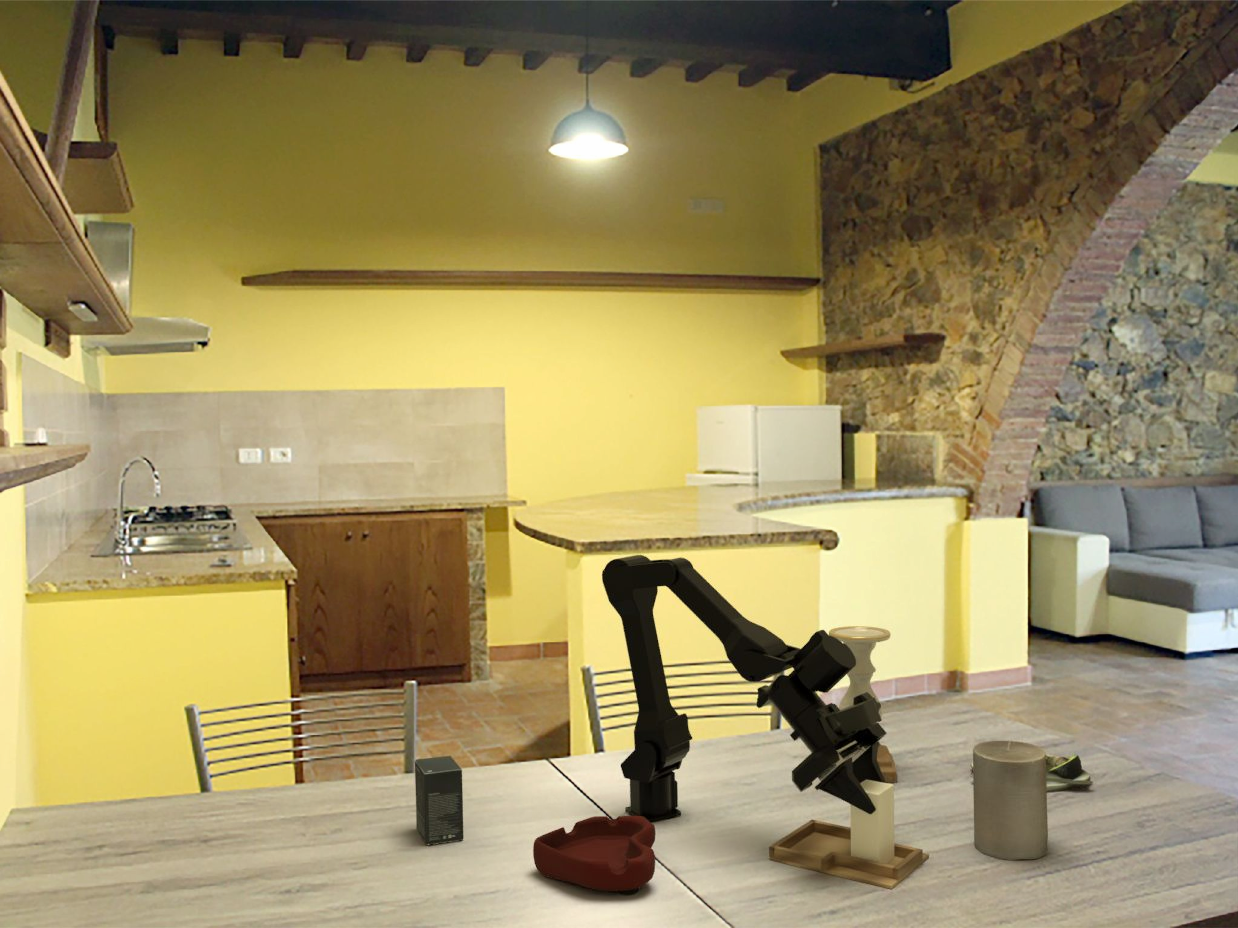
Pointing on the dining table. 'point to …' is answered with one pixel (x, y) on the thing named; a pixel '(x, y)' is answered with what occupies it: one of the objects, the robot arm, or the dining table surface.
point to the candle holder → (865, 679)
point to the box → (439, 800)
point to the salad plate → (1064, 773)
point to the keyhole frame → (842, 855)
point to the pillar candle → (1010, 800)
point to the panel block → (874, 824)
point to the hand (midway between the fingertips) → (881, 806)
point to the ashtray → (600, 853)
